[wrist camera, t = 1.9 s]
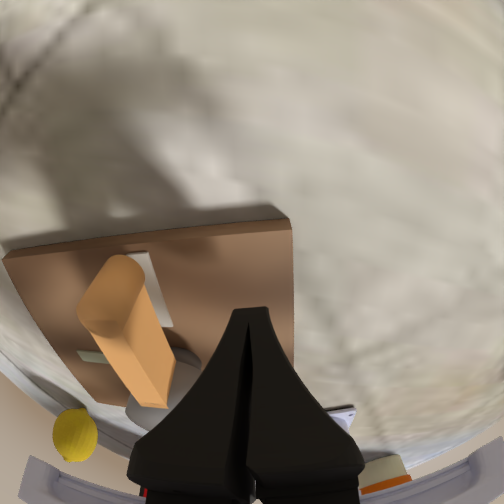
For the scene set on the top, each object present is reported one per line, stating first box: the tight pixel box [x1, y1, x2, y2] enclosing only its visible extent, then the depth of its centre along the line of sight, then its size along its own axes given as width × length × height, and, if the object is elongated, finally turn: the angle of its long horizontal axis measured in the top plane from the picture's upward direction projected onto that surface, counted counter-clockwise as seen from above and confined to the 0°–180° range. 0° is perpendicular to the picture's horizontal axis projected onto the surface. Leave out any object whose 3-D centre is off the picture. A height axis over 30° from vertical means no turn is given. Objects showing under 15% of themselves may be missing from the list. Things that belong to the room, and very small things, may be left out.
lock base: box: [2, 218, 294, 407], centre depth 18 cm, size 17×19×3 cm
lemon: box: [53, 408, 98, 462], centre depth 23 cm, size 6×6×8 cm
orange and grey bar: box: [76, 255, 202, 431], centre depth 13 cm, size 12×5×3 cm, turn 6°
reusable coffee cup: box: [358, 455, 412, 495], centre depth 33 cm, size 12×13×15 cm
